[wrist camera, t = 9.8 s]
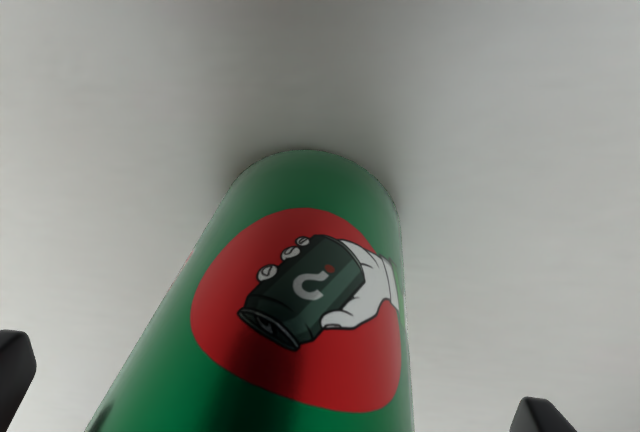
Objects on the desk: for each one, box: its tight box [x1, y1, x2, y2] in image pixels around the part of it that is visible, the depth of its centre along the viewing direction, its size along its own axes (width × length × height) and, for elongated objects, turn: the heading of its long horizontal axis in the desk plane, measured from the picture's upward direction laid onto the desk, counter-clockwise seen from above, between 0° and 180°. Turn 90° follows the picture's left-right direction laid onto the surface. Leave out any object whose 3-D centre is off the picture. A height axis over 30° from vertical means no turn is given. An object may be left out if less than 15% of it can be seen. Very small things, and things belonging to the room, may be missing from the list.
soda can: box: [84, 150, 415, 432], centre depth 9 cm, size 5×5×12 cm
